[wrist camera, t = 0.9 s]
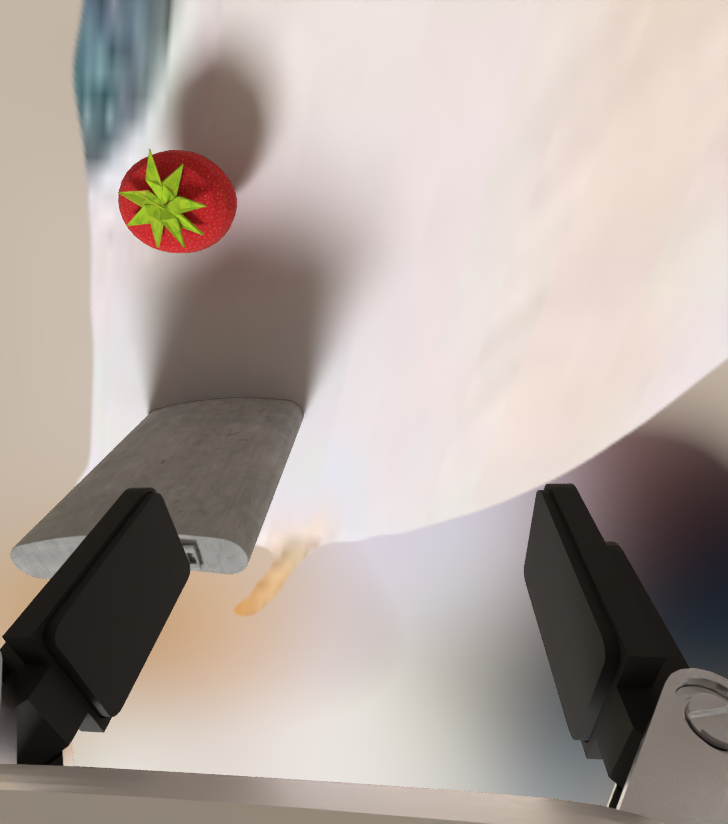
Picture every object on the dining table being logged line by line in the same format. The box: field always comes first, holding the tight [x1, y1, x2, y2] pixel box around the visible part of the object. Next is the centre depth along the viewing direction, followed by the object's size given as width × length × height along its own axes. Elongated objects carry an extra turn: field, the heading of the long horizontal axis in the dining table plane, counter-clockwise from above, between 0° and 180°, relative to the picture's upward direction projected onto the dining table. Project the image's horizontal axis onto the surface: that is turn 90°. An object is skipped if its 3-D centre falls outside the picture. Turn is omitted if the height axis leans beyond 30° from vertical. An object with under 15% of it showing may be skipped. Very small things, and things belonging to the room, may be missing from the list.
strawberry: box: [118, 149, 237, 253], centre depth 28 cm, size 6×8×10 cm
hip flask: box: [10, 398, 303, 579], centre depth 33 cm, size 16×4×20 cm, turn 97°
